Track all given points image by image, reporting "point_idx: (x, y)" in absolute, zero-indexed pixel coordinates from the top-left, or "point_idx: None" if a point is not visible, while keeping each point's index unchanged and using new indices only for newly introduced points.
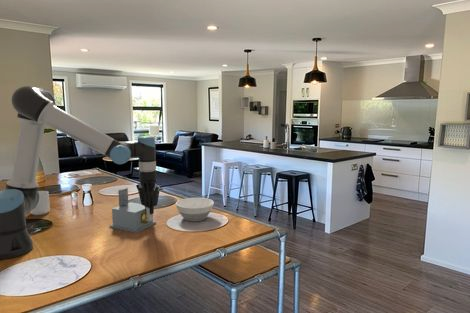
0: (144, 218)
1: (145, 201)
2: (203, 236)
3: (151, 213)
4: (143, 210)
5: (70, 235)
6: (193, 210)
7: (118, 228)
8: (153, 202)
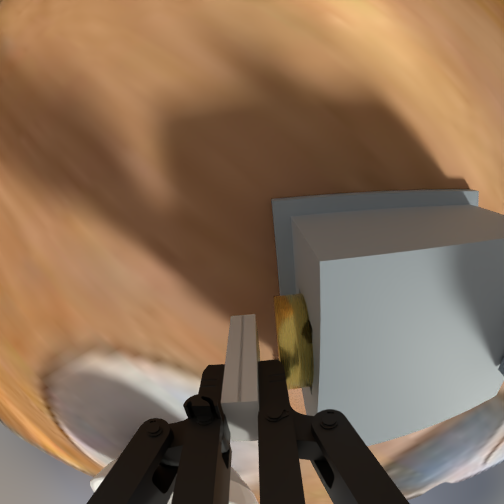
0: (276, 319)
1: (273, 463)
2: (10, 332)
3: (206, 370)
4: (317, 375)
5: (496, 39)
6: (109, 469)
7: (421, 190)
8: (131, 459)
